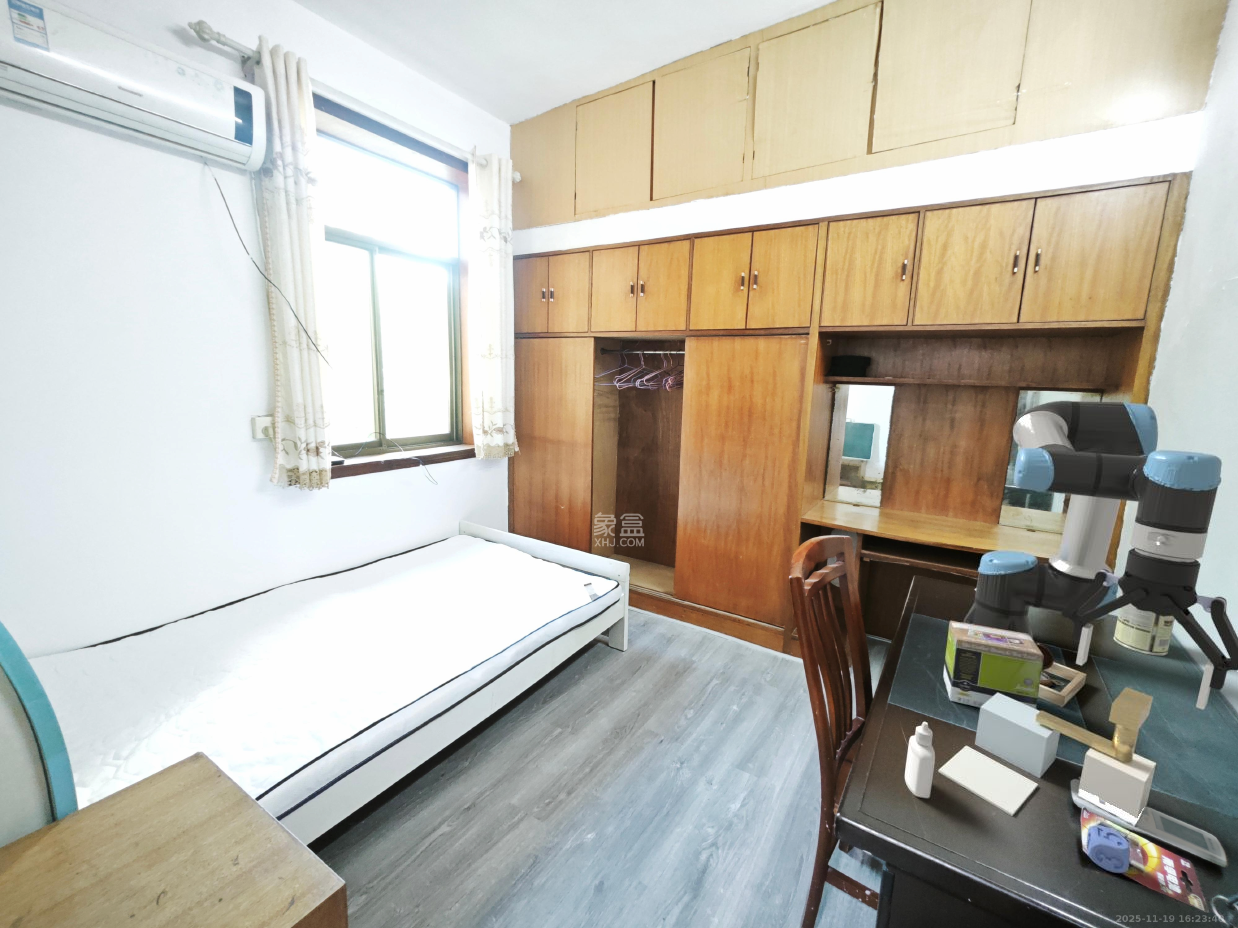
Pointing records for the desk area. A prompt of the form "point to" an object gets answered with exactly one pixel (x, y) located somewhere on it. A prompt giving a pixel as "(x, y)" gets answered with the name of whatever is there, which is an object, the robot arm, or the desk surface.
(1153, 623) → the coffee can
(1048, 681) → the compass
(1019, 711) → the cover
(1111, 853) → the decorative dice
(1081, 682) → the beige square frame
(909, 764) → the eye dropper bottle
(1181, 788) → the desk surface
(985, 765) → the mat
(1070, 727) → the gold angular piece
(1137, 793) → the white rectangular box
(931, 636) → the desk surface
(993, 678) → the tea box
